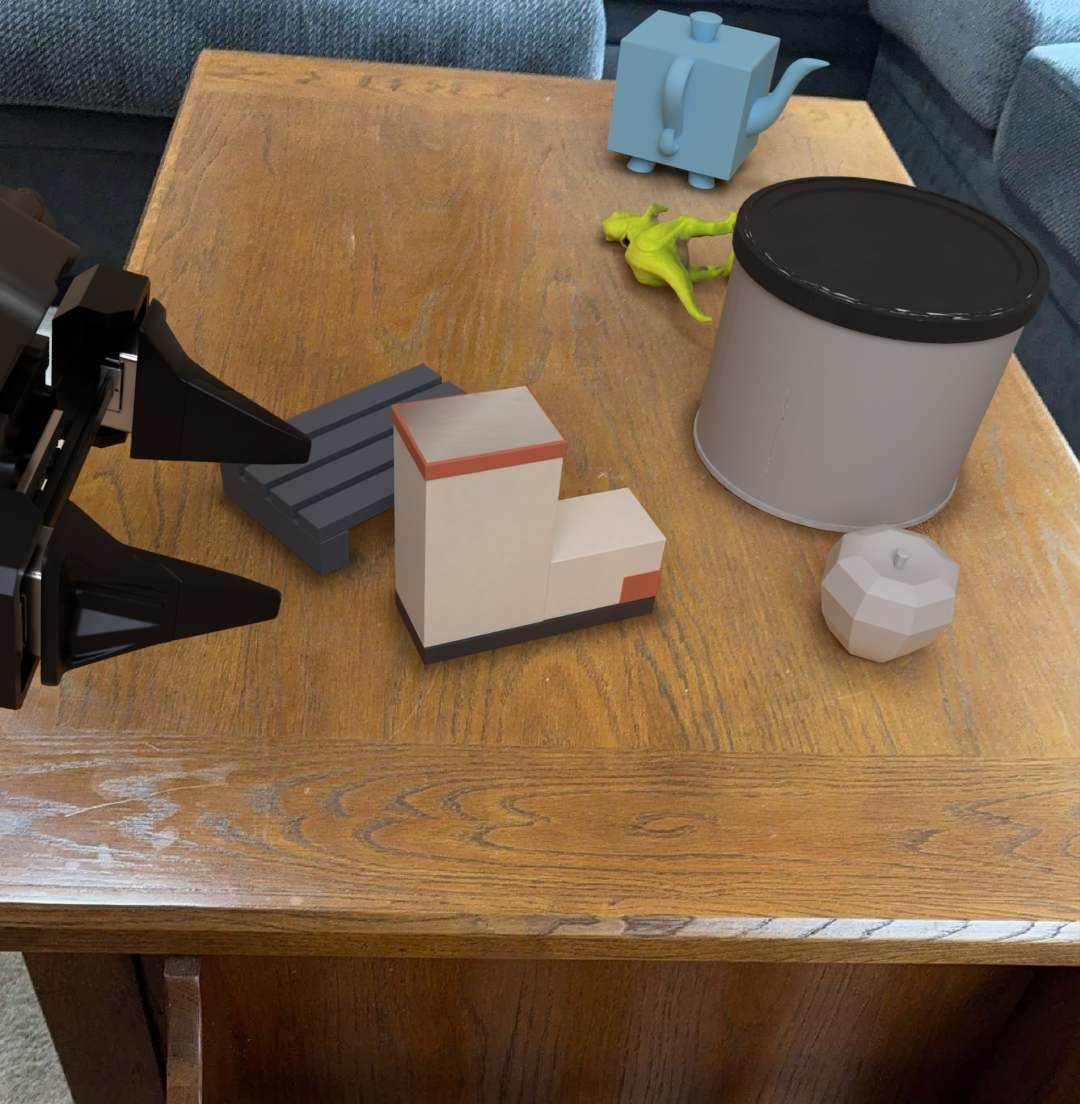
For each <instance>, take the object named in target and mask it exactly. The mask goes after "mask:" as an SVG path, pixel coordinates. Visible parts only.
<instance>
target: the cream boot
mask: <svg viewBox="0 0 1080 1104" xmlns="http://www.w3.org/2000/svg"><path fill="white" fill-rule="evenodd" d="M467 393H468V394H461V395H454V396H447V397H441V398H434V399H427V400H421V401H414V402H407V403H400V404H394V405H391V421H392V422H393V424H394V504H395V506H394V561H395V562H394V566H395V567H394V569H395V570H394V573H395V575H394V576H395V579H394V580H395V581H394V582H395V587H394V605H395V606H396V609H397V610H398V612H399V615H400V617H401V619H402V621H403V623H404V625H405V627H406V629H407V631H408V634H409V636H410V638H411V640H412V642H413V644H414V646H415V648H416V650H417V652H418V654H419V656H420V659H421V660H422V662H423V665H425V666H426V665H431V664H433V663H434V664H436V663H439V662H442V661H444V662H445V661H448V660H452V659H456V658H461V657H464V656H470V655H474V654H479V653H483V652H487V651H492V650H495V649H500V648H505V647H508V646H514V645H517V644H521V643H526V642H530V641H534V640H540V639H545V638H549V637H551V636H557V635H562V634H566V633H571V632H574V631H578V630H582V629H586V628H592V627H595V626H601V625H604V624H609V623H614V622H618V621H622V620H627V619H631V618H635V617H640V616H644V615H648V614H652V613H653V610H654V605H655V600H656V596H657V593H658V589H659V584H660V579H661V576H662V568H661V566H662V560H663V556H664V551H665V547H666V544H667V543H666V542H667V538H666V536H665V535H664V533H663V532H662V531H661V530H660V528H659V527H658V525H657V524H656V523H655V521H654V520H653V519H652V517H651V516H650V515H649V513H648V512H647V511H646V509H645V507H643V505H642V504H641V502H640V501H639V499H637V497H636V496H635V494H634V493H633V492H632V490H631V489H630V487H623V488H616V489H612V490H607V491H599V492H596V493H591V494H585V495H579V496H573V497H570V498H569V497H568V498H564V499H559V496H560V487H561V479H562V472H563V471H562V470H563V462H564V458H565V457H567V452H568V445H569V444H568V443H569V442H568V439H567V437H565V436H564V434H563V432H562V431H561V430H560V429H559V427H558V426H557V425H556V423H555V422H554V420H553V419H552V418H551V416H550V415H549V412H547V410H546V409H545V408H544V406H543V405H542V404H541V402H540V400H539V399H538V398H537V396H536V395H535V394H534V392H533V391H532V390H531V388H530V387H529V386H528V384H523V385H516V386H509V387H503V388H495V389H488V390H482V391H481V390H480V391H475V392H467Z"/></svg>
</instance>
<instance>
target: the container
mask: <svg viewBox="0 0 1080 1104" xmlns="http://www.w3.org/2000/svg"><path fill="white" fill-rule="evenodd" d="M737 213H738V214H737V219H736V223H735V228H734V232H733V234H732V237H731V245H732V250H733V251H734V258H733V263H732V267H731V272H730V275H728V276H729V277H728V281H727V286H726V289H725V290H726V291H725V295H724V299H723V304H722V307H721V312H720V317H719V321H718V325H717V330H716V334H715V340H714V343H713V348H712V352H711V357H710V362H709V366H708V370H707V375H706V379H705V384H704V388H703V393H702V396H701V402H700V406H699V408H698V410H697V411H696V414H695V418H694V422H693V429H692V437H693V443H694V447H695V450H696V453H697V455H698V457H699V459H700V460H701V462H702V463H703V465H704V467H705V468H706V470H707V471H708V472H709V473H710V474H711V476H713V477H714V478H715V479H716V481H718V482H719V483H720V485H722V486H723V487H724V488H726V489H727V490H728V491H729V492H731V493H732V494H734V495H735V496H737V497H738V498H739V499H741V500H742V501H744V502H746V503H748V504H749V505H751V506H754V507H755V508H757V509H758V510H761V511H763V512H765V513H767V514H770V515H772V516H774V517H777V518H779V519H782V520H785V521H787V522H791V523H794V524H797V525H801V526H805V527H809V528H812V529H813V528H814V529H817V530H824V531H828V532H829V531H830V532H834V533H836V532H837V533H843V534H846V533H850V532H854V531H858V530H862V529H865V528H869V527H873V526H877V525H881V524H887V525H891V526H895V527H898V528H902V529H907V528H911V527H914V526H917V525H919V524H922V523H924V522H926V521H929V519H931V518H933V517H934V516H936V515H937V514H938V513H939V512H940V511H942V510H943V509H944V508H945V507H946V506H947V504H948V503H949V501H950V500H951V498H952V496H953V495H954V492H955V489H956V487H957V482H958V478H959V474H960V472H961V470H962V467H963V466H964V463H965V461H966V459H967V456H968V454H969V451H970V449H971V447H972V445H973V444H974V440H975V438H976V436H977V433H978V431H979V429H980V427H981V426H982V425H981V424H982V422H983V420H984V418H985V416H986V413H987V412H988V409H989V407H990V404H991V402H992V400H993V398H994V395H995V393H996V391H997V389H998V386H999V384H1000V383H1001V380H1002V378H1003V376H1004V373H1005V371H1006V368H1007V366H1008V364H1009V362H1010V360H1011V358H1012V355H1013V354H1014V351H1015V349H1016V346H1017V344H1018V342H1019V339H1020V337H1021V335H1022V333H1023V330H1024V328H1025V326H1026V325H1028V324H1029V323H1030V322H1032V320H1033V319H1034V318H1035V317H1036V316H1037V314H1038V312H1039V309H1041V305H1042V303H1043V301H1044V299H1045V296H1046V295H1047V293H1048V290H1049V287H1050V283H1051V272H1050V269H1049V265H1048V263H1047V261H1046V259H1045V257H1044V256H1043V255H1042V253H1041V252H1040V250H1039V249H1038V248H1037V247H1036V245H1034V243H1033V242H1031V241H1030V240H1029V239H1028V238H1027V237H1025V235H1023V233H1021V232H1019V230H1017V229H1016V228H1014V227H1013V226H1011V225H1009V224H1008V223H1006V222H1005V221H1003V220H1002V219H1000V218H999V217H996V216H995V215H993V214H991V213H989V212H986V211H985V210H983V209H980V208H978V207H976V206H974V205H972V204H969V203H968V202H965V201H962V200H960V199H957V198H955V197H951V196H948V195H945V194H943V193H940V192H936V191H933V190H929V189H927V188H922V187H918V186H915V185H909V184H905V183H902V182H901V183H900V182H895V181H890V180H885V179H877V178H869V177H859V176H846V175H845V176H844V175H834V176H833V175H830V176H829V175H818V176H807V177H798V178H792V179H786V180H781V181H779V182H776V183H772V184H769V185H767V186H764V187H762V188H760V189H758V190H756V191H754V192H753V193H752V194H750V195H749V196H748V197H747V198H746V199H744V201H743V202H742V203H741V205H740V207H739V209H738V211H737Z"/></svg>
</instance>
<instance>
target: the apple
mask: <svg viewBox="0 0 1080 1104" xmlns="http://www.w3.org/2000/svg"><path fill="white" fill-rule="evenodd" d="M960 569H961V568H960V565H959V564H958V563H957V562H956V561H955V560H954V559H953V558H952V557H951V555H949V554H948V553H947V552H946V551H945V550H944V549H943V548H941V546H939V544H937V543H936V541H934V540H933V539H932V538H931V537H930V536H929V535H926V534H923V533H919V532H916V531H913V530H909V529H906V528H904V529H902V528H898V527H895V526H891V525H887V524H881V525H877V526H873V527H869V528H865V529H862V530H858V531H854V532H850V533H843V535H842V536H841V538H839V539H838V540H837V542H836V543H835V544H834V545H833V547H832V548H831V549H830V550H829V552H828V556H827V560H826V564H825V567H824V571H823V575H822V578H821V583H820V590H821V591H820V595H821V612H822V615H823V618H824V620H825V623H826V626H827V628H828V629H827V630H829V631H830V632H831V634H832V635H833V636H834V637H835V638H836V639H837V640H838V641H839V643H840V644H841V645H842V646H843V647H844V648H845V650H846V651H847V652H848V653H849V654H850V655H853V656H856V657H859V658H863V659H866V660H869V661H872V662H876V663H882V664H884V663H886V662H889V661H891V660H896V659H898V658H900V657H903V656H906V655H907V656H908V655H909V654H912V653H913V652H916V651H918V650H921V649H922V648H924V647H926V646H929V645H930V644H931V643H932V642H934V640H936V639H937V637H938V636H940V635H941V634H942V633H943V632H944V631H945V630H946V629H947V628H948V627H949V626H950V625H951V624H952V623H953V620H954V612H955V604H956V598H957V597H956V596H957V591H958V590H957V589H958V583H959V576H960Z"/></svg>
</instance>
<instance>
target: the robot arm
mask: <svg viewBox="0 0 1080 1104" xmlns="http://www.w3.org/2000/svg"><path fill="white" fill-rule="evenodd" d="M81 251H82V248H81V247H80V245H78V244H76V243H74V242H73V241H71V240H69V239H68V238H66V237H65V236H64V235H61V234H59V233H58V232H57V225H56V223H55V221H54V218H53V216H52V214H51V213H50V211H49V210H48V209H47V208H46V204H45V200H44V198H43V197H42V195H41V194H40V193H39V192H38V191H36V190H35V189H33V188H30V187H20V188H17V190H16V189H14V188H11V187H8V186H5V185H3V184H1V183H0V709H5V710H11V711H19V710H21V709H22V707H23V704H24V702H25V699H26V696H27V694H28V693H29V690H30V687H31V684H32V681H33V679H34V676H35V674H36V672H37V668H38V666H39V664H40V667H39V669H40V671H39V672H40V675H39V676H40V678H39V679H40V681H39V682H40V685H41V686H44V687H45V686H46V687H58V686H59V685H60V683H61V681H62V678H63V675H65V673H67V672H69V671H72V670H75V669H79V668H82V667H85V666H89V665H92V664H95V663H98V662H102V661H106V660H108V659H109V660H110V659H112V658H115V657H120V656H122V655H126V654H129V653H132V652H136V651H139V650H143V649H146V648H150V647H153V646H158V645H162V644H166V643H172V642H175V641H180V640H184V639H188V638H193V637H198V636H202V635H208V634H212V633H216V632H217V633H218V632H221V631H222V632H223V631H226V630H231V629H236V628H240V627H245V626H250V625H253V624H258V623H263V622H268V621H269V622H270V621H273V620H276V618H277V617H278V616H279V613H280V608H281V604H282V599H283V594H282V592H281V590H279V589H277V588H275V587H272V586H270V585H267V584H264V583H262V582H258V581H256V580H253V579H250V578H247V577H245V576H242V575H240V574H239V575H238V574H235V573H232V572H228V571H224V570H221V569H217V568H213V567H210V566H206V565H203V564H199V563H195V562H190V561H187V560H184V559H180V558H177V557H174V556H169V555H165V554H162V553H159V552H154V551H152V550H147V549H144V548H141V547H136V546H134V545H133V546H132V545H129V544H126V543H124V542H121V541H119V540H118V539H116V538H115V537H114V536H113V535H112V534H110V533H109V532H108V531H107V530H106V529H105V528H104V527H102V525H100V523H98V522H97V521H96V520H95V519H94V518H93V517H91V516H90V515H89V514H88V513H87V512H86V511H85V510H84V509H82V508H81V507H80V506H79V505H78V504H77V503H76V502H75V501H73V500H71V499H70V497H71V495H72V493H73V490H74V488H75V486H76V483H77V482H78V479H79V477H80V474H81V472H82V470H83V468H84V465H85V462H86V460H87V458H88V455H89V453H90V451H91V448H92V447H93V448H97V449H105V448H110V447H113V446H118V445H122V444H126V441H127V439H128V437H129V434H131V435H130V448H129V459H131V460H141V461H143V460H144V461H163V462H165V461H166V462H190V463H191V462H193V463H214V464H216V463H217V464H220V463H235V464H258V465H286V464H305V463H307V462H308V461H309V457H310V452H311V448H312V439H311V438H310V437H309V436H308V435H307V434H305V433H303V432H302V431H300V430H299V429H297V428H295V427H294V426H292V425H291V424H289V423H287V422H286V421H284V420H285V419H282V418H281V417H279V416H278V415H276V414H275V413H273V412H271V411H270V410H268V409H267V408H265V407H263V406H262V405H261V404H259V403H257V402H255V401H254V400H252V399H250V398H249V397H247V396H246V395H244V394H243V393H241V392H239V391H238V390H236V389H235V388H233V387H231V386H230V385H228V383H225V382H224V381H223V380H221V379H219V378H218V377H217V376H215V375H214V374H212V373H211V372H209V371H208V370H207V369H206V368H204V367H202V366H201V365H200V364H198V363H197V362H196V361H194V360H193V359H192V358H191V357H190V356H189V355H188V354H187V352H185V350H184V348H183V347H182V345H181V343H180V342H179V340H178V338H177V337H176V335H175V334H174V332H173V330H172V329H171V327H170V325H169V323H168V322H167V309H166V307H165V306H164V305H163V304H162V303H161V302H160V300H158V299H157V298H155V297H152V299H151V288H152V287H151V284H152V282H151V279H150V276H148V275H144V274H140V273H137V272H133V271H129V270H127V269H122V268H119V267H117V266H112V265H109V264H105V263H102V262H99V263H97V264H96V265H94V266H92V267H90V268H88V269H87V270H85V271H83V272H81V273H79V274H78V275H77V276H74V278H73V279H72V282H71V284H70V285H69V287H68V289H67V291H66V293H65V294H64V296H63V298H62V300H61V302H60V304H59V306H58V308H57V310H56V311H55V313H54V315H53V317H52V318H51V337H50V336H48V335H45V334H41V333H37V332H38V331H39V328H40V326H41V325H42V323H43V320H44V318H45V317H46V315H47V313H48V311H49V309H50V307H51V306H52V303H53V301H54V300H55V298H56V296H57V294H58V292H59V288H58V287H57V284H58V282H59V280H60V278H61V276H63V275H69V274H70V273H71V271H72V269H73V267H74V265H75V263H76V261H77V259H78V258H79V255H80V253H81ZM150 299H151V301H150ZM50 339H51V340H50ZM50 341H51V348H50ZM50 349H51V352H50ZM50 353H51V354H50ZM50 355H51V356H50ZM50 359H51V361H50ZM50 365H51V367H50ZM49 367H50V384H47V371H48V368H49ZM61 440H62V441H64V442H63V444H62V445H61V447H58V446H59V441H61Z"/></svg>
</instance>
